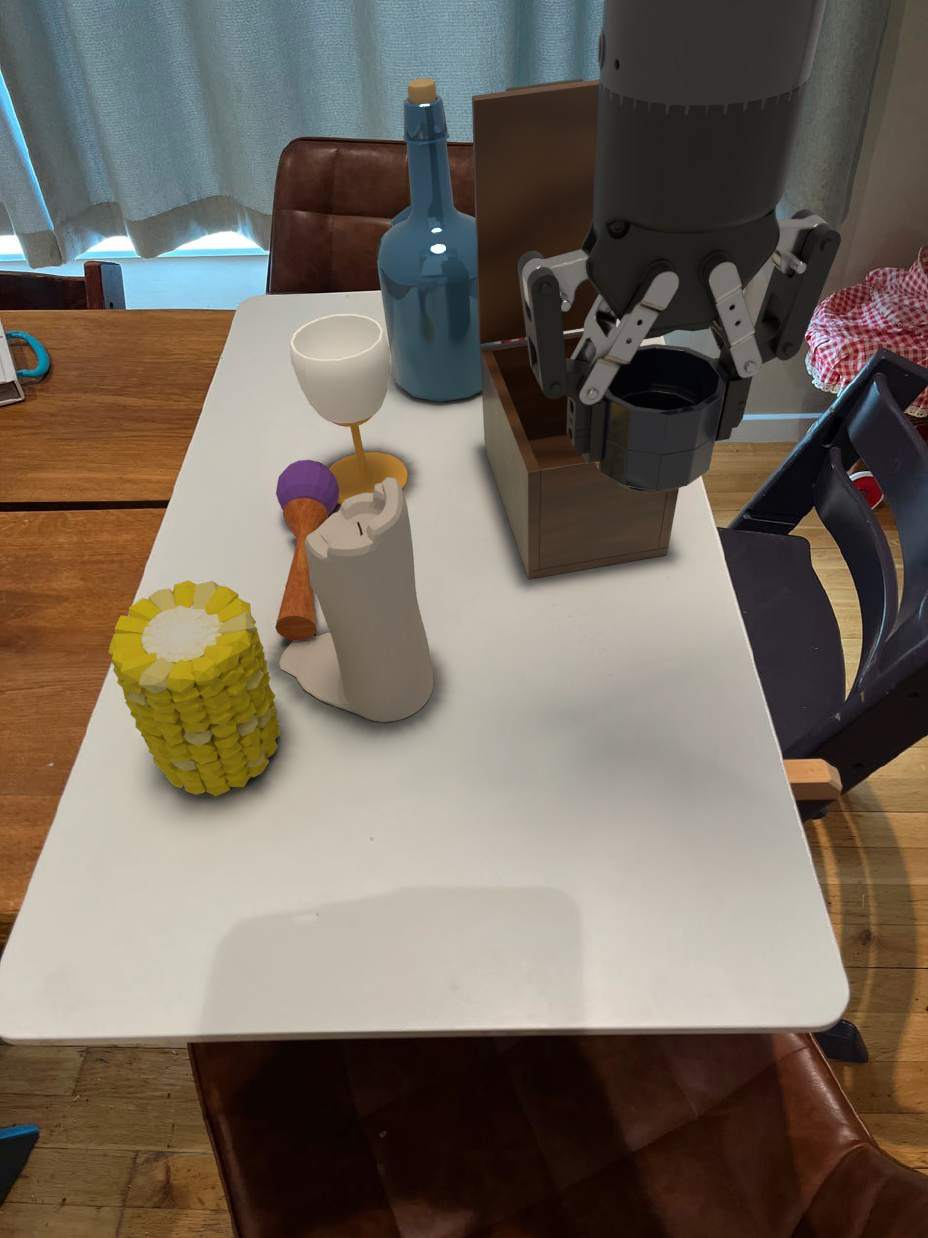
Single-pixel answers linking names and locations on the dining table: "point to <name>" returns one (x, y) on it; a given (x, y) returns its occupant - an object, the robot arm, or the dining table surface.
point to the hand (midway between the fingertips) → (652, 441)
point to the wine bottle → (431, 267)
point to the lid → (531, 193)
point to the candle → (365, 612)
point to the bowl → (662, 418)
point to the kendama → (303, 539)
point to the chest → (559, 477)
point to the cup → (347, 390)
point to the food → (197, 685)
